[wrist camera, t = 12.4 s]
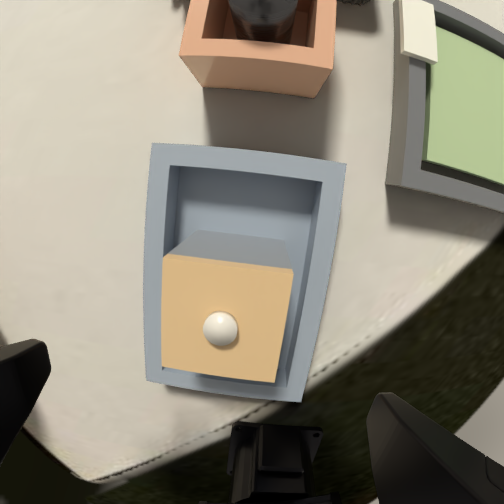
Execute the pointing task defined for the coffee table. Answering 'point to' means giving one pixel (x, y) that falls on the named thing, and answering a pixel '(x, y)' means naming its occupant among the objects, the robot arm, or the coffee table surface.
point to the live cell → (225, 305)
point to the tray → (245, 223)
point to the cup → (260, 50)
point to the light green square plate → (465, 109)
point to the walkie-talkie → (355, 1)
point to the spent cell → (263, 19)
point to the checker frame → (414, 93)
